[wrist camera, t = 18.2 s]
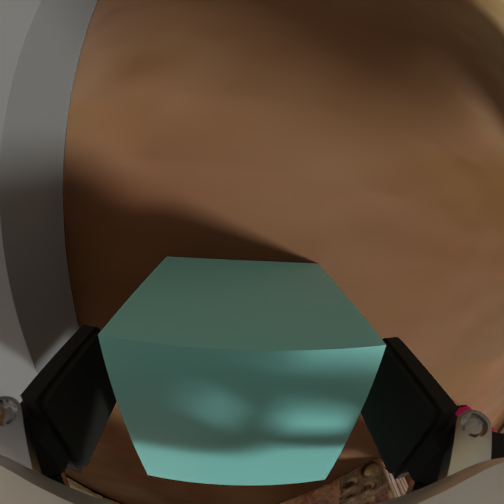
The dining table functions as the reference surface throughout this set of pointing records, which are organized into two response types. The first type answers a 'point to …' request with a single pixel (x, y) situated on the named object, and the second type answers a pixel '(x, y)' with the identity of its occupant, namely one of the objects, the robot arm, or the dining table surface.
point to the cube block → (239, 370)
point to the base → (35, 182)
